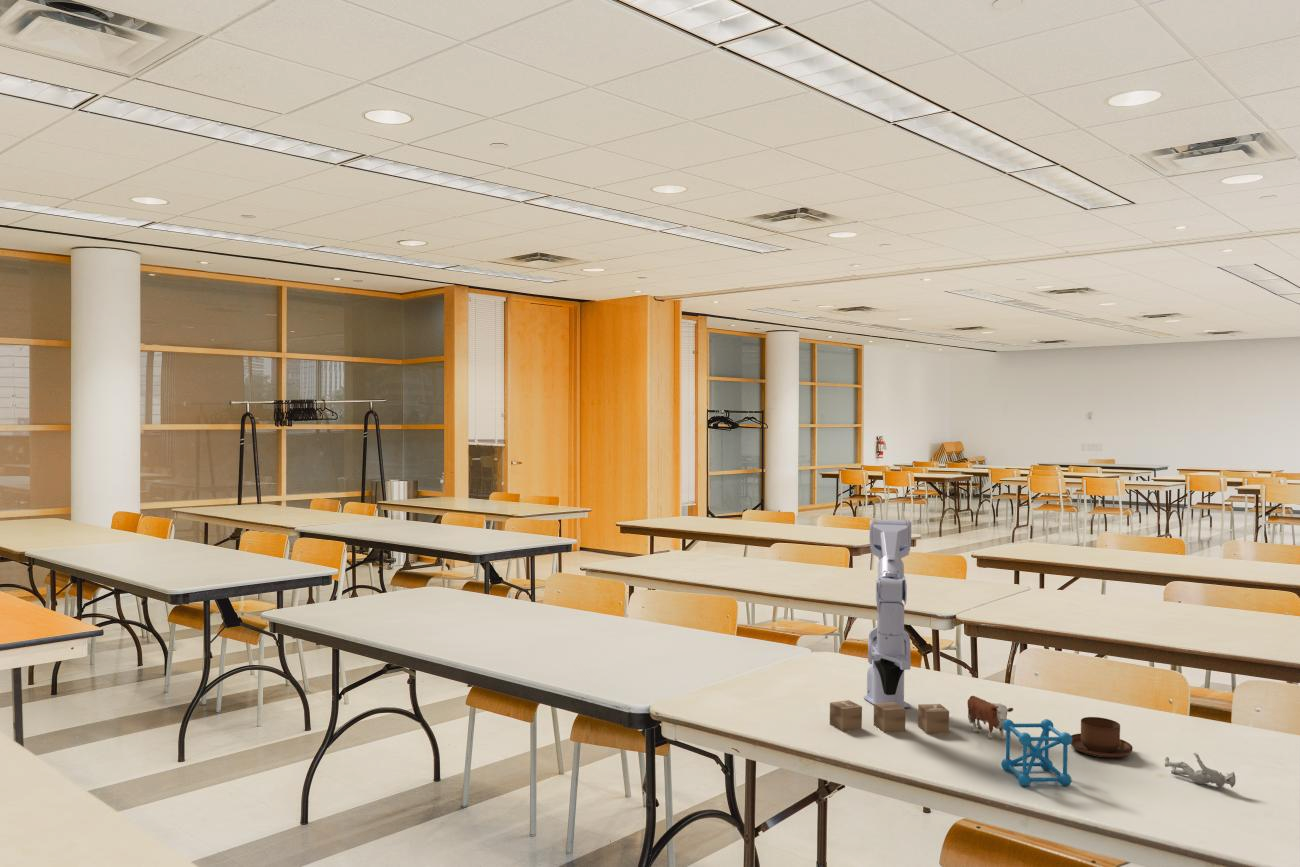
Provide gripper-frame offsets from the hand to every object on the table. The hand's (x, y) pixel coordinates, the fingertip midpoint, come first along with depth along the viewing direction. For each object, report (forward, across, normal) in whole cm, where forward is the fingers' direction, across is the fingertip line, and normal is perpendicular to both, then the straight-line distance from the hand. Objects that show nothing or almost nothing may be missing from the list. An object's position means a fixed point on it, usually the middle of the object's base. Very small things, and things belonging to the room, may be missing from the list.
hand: (889, 694), depth 209 cm
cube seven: (+8, +3, +9) cm, 12 cm away
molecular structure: (+8, +32, +14) cm, 36 cm away
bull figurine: (+8, +9, +19) cm, 22 cm away
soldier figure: (+8, +41, +43) cm, 60 cm away
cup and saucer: (+8, +22, +36) cm, 43 cm away
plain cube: (+8, 0, 0) cm, 8 cm away
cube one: (+8, -3, -9) cm, 12 cm away
